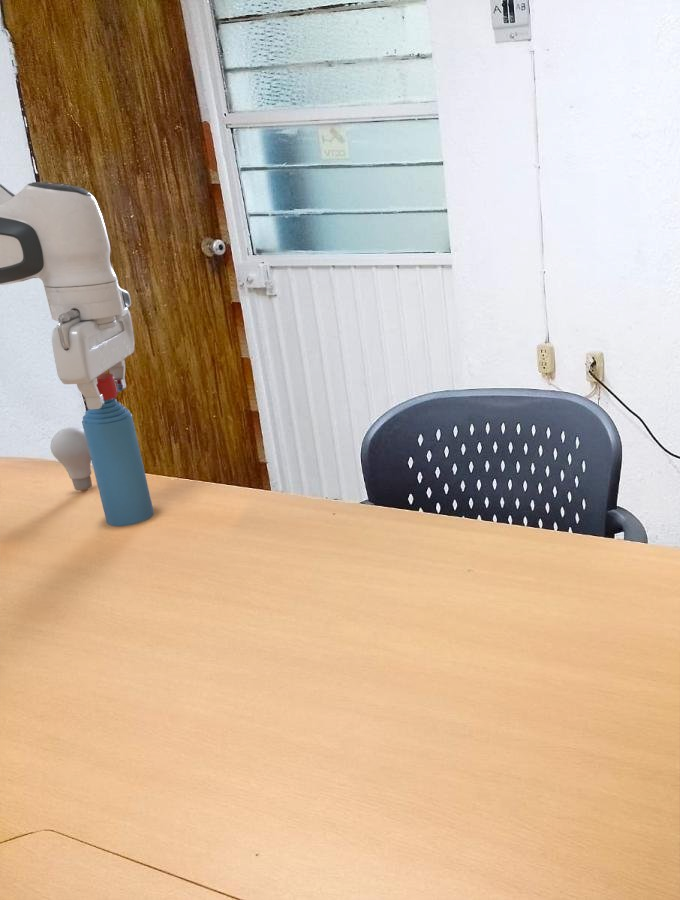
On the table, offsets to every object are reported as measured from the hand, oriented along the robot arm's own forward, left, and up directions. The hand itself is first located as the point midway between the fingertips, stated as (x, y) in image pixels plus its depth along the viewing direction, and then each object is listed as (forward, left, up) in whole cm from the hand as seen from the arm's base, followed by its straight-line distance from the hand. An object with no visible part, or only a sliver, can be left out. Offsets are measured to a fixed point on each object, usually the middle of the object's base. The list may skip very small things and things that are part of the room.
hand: (108, 398), depth 120 cm
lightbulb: (-12, +14, -19) cm, 26 cm away
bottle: (-1, 0, -19) cm, 19 cm away
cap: (-1, 0, 0) cm, 1 cm away
